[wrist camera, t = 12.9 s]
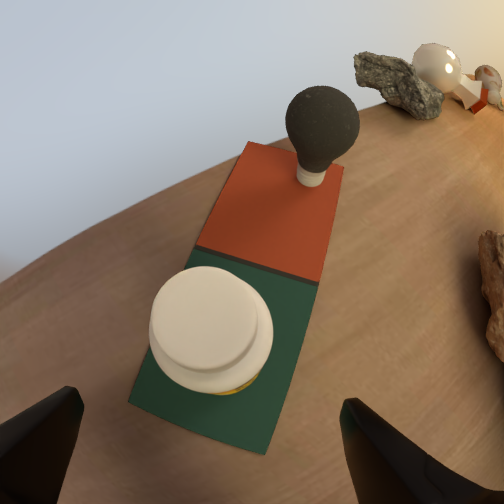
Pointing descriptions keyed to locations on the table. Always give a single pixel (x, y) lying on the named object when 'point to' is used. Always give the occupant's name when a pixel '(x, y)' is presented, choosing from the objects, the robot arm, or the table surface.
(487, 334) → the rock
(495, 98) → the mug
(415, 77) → the rock
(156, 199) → the table surface
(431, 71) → the potion bottle
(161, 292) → the supplement bottle
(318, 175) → the light bulb
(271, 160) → the sorting mat
